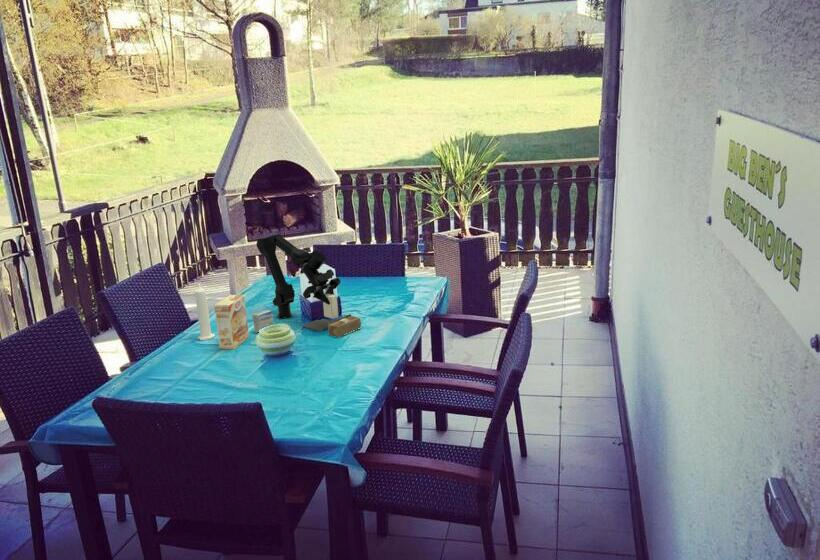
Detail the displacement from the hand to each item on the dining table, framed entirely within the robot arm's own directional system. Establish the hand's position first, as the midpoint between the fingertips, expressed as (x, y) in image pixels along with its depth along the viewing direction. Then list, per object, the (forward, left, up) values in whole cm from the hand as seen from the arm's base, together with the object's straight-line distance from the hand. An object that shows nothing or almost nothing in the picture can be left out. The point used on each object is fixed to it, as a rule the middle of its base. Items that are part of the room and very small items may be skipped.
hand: (332, 303), depth 295 cm
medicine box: (-13, -29, -12) cm, 34 cm away
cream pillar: (-1, -1, -7) cm, 7 cm away
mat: (-8, -5, -12) cm, 15 cm away
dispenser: (+6, +3, -12) cm, 14 cm away
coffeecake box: (-3, -43, -12) cm, 45 cm away
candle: (-16, -54, -12) cm, 58 cm away
